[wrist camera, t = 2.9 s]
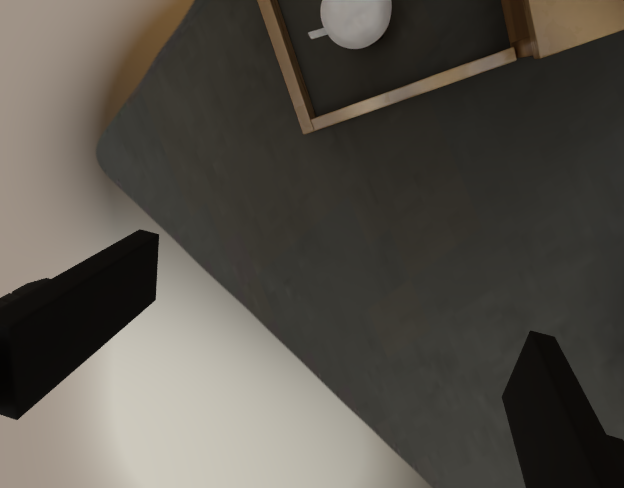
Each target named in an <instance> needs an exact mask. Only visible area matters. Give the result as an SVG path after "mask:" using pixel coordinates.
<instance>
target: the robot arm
mask: <svg viewBox="0 0 624 488" xmlns="http://www.w3.org/2000/svg"><path fill="white" fill-rule="evenodd" d="M158 245H159V234H155V233H151V232H148V231H144V230H138V231H136V232H134V233H132V234H131V235H129V236H127V237H125V238H124V239H122V240H120V241H118V242H116V243H115V244H113V245H111V246H109V247H107V248H106V249H104V250H102V251H100V252H99V253H97V254H95V255H93V256H91V257H90V258H88V259H86V260H85V261H83V262H81V263H79V264H77V265H75V266H74V267H72V268H70V269H68V270H67V271H65V272H63V273H61V274H60V275H58V276H56V277H54V278H52V279H48V278H45V279H41V280H38V281H34V282H31V283H27V284H25V285H24V286H22V287H20V288H18V289H16V290H14V291H13V292H12V293H11V294H10V293H9V294H7V295H5V296H3V297H1V298H0V414H1V415H3V416H6V417H10V418H13V419H16V420H18V419H19V418H20V417H21V416H22V415H23V414H24V413H26V412H27V411H28V410H29V409H30V408H32V407H33V406H34V405H35V404H36V403H37V402H38V401H40V400H41V399H42V398H43V397H44V396H45V395H46V394H48V393H49V392H50V391H51V390H52V389H53V388H55V387H56V386H57V385H58V384H59V383H60V382H61V381H63V380H64V379H65V378H66V377H67V376H68V375H70V374H71V373H72V372H73V371H74V370H75V369H76V368H78V367H79V366H80V365H81V364H82V363H83V362H85V361H86V360H87V359H88V358H89V357H90V356H91V355H93V354H94V353H95V352H96V351H97V350H98V349H100V348H101V347H102V346H103V345H104V344H105V343H107V342H108V341H109V340H110V339H111V338H112V337H113V336H115V335H116V334H117V333H118V332H119V331H120V330H121V329H123V328H124V327H125V326H126V325H127V324H128V323H130V322H131V321H132V320H133V319H134V318H135V317H136V316H138V315H139V314H140V313H141V312H142V311H143V310H144V309H146V308H147V307H148V306H149V305H150V304H152V302H154V301H155V300H156V281H157V264H158ZM502 399H503V403H504V407H505V411H506V414H507V418H508V422H509V426H510V429H511V433H512V437H513V441H514V444H515V448H516V452H517V456H518V459H519V463H520V467H521V471H522V474H523V478H524V482H525V486H526V488H624V441H623V440H622V439H619V438H616V437H612V436H609V435H606V433H605V431H604V429H603V428H602V426H601V424H600V422H599V420H598V418H597V416H596V414H595V412H594V410H593V409H592V407H591V405H590V403H589V401H588V399H587V397H586V395H585V393H584V392H583V390H582V388H581V386H580V384H579V382H578V380H577V378H576V376H575V375H574V373H573V371H572V369H571V367H570V365H569V363H568V361H567V359H566V357H565V356H564V354H563V352H562V350H561V348H560V346H559V344H558V342H557V340H556V339H555V337H553V336H549V335H546V334H542V333H538V332H534V331H530V332H529V335H528V337H527V339H526V342H525V344H524V346H523V349H522V351H521V353H520V356H519V358H518V360H517V363H516V365H515V367H514V370H513V372H512V374H511V377H510V379H509V381H508V384H507V386H506V388H505V391H504V393H503V395H502Z"/></svg>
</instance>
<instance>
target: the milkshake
mask: <svg viewBox="0 0 624 488" xmlns="http://www.w3.org/2000/svg"><path fill="white" fill-rule="evenodd" d="M391 11H392V2H391V0H322V3H321V20H322V23H323V26H324V28H321V29H318V30H314V31H311V32H308V35H309V37H310V39H314V38H318V37H321V36H324V35H327V34H328V36H329V37H330V38H331V39H332V40H333V41H334V42H335V43H336V44H338V45H340V46H342V47H344V48H349V49H360V48H364V47H367V46H371V45H373V44H374V43H376V42H377V41H379V40H380V39H382V38H383V36H384V33H385V31H386V29H387V27H388V25H389V22H390V18H391Z"/></svg>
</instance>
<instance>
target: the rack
mask: <svg viewBox="0 0 624 488" xmlns="http://www.w3.org/2000/svg"><path fill="white" fill-rule="evenodd" d="M257 1H258V4H259V7H260V10H261V13H262V16H263V19H264V22H265V25H266V28H267V30H268V33H269V36H270V39H271V42H272V45H273V48H274V51H275V54H276V57H277V60H278V62H279V65H280V68H281V71H282V74H283V77H284V80H285V83H286V86H287V89H288V92H289V94H290V97H291V100H292V103H293V106H294V109H295V112H296V115H297V118H298V121H299V123H300V126H301V129H302V132H303V135H305V134H308V133H311V132H314V131H316V130H319V129H322V128H325V127H328V126H331V125H334V124H337V123H339V122H342V121H345V120H348V119H351V118H354V117H357V116H359V115H362V114H365V113H368V112H371V111H374V110H377V109H380V108H382V107H385V106H388V105H391V104H394V103H397V102H400V101H402V100H405V99H408V98H411V97H414V96H417V95H420V94H422V93H425V92H428V91H431V90H434V89H437V88H440V87H443V86H445V85H448V84H451V83H454V82H457V81H460V80H463V79H465V78H468V77H471V76H474V75H477V74H480V73H483V72H486V71H488V70H491V69H494V68H497V67H500V66H503V65H506V64H508V63H511V62H514V61H516V60H517V58H522V57H528V56H534V59H540V58H544V57H546V56H549V55H552V54H555V53H558V52H561V51H564V50H567V49H570V48H573V47H575V46H578V45H581V44H584V43H587V42H590V41H593V40H596V39H599V38H601V37H604V36H607V35H610V34H613V33H616V32H619V31H622V30H624V0H501V4H502V9H503V13H504V18H505V23H506V28H507V32H508V37H509V42H510V47H511V48H508V49H505V50H502V51H499V52H496V53H494V54H491V55H488V56H485V57H482V58H480V59H477V60H474V61H471V62H468V63H466V64H463V65H460V66H457V67H455V68H452V69H449V70H446V71H443V72H441V73H438V74H435V75H432V76H429V77H427V78H424V79H421V80H418V81H416V82H413V83H410V84H407V85H404V86H402V87H399V88H396V89H393V90H390V91H388V92H385V93H382V94H379V95H376V96H374V97H371V98H368V99H365V100H363V101H360V102H357V103H354V104H351V105H349V106H346V107H343V108H340V109H337V110H335V111H332V112H329V113H326V114H324V115H321V116H318V117H316V115H315V112H314V109H313V106H312V103H311V100H310V97H309V94H308V91H307V88H306V85H305V82H304V79H303V76H302V73H301V70H300V67H299V64H298V61H297V58H296V55H295V52H294V49H293V46H292V43H291V40H290V37H289V34H288V31H287V28H286V25H285V22H284V19H283V16H282V13H281V10H280V7H279V4H278V1H277V0H257Z"/></svg>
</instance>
